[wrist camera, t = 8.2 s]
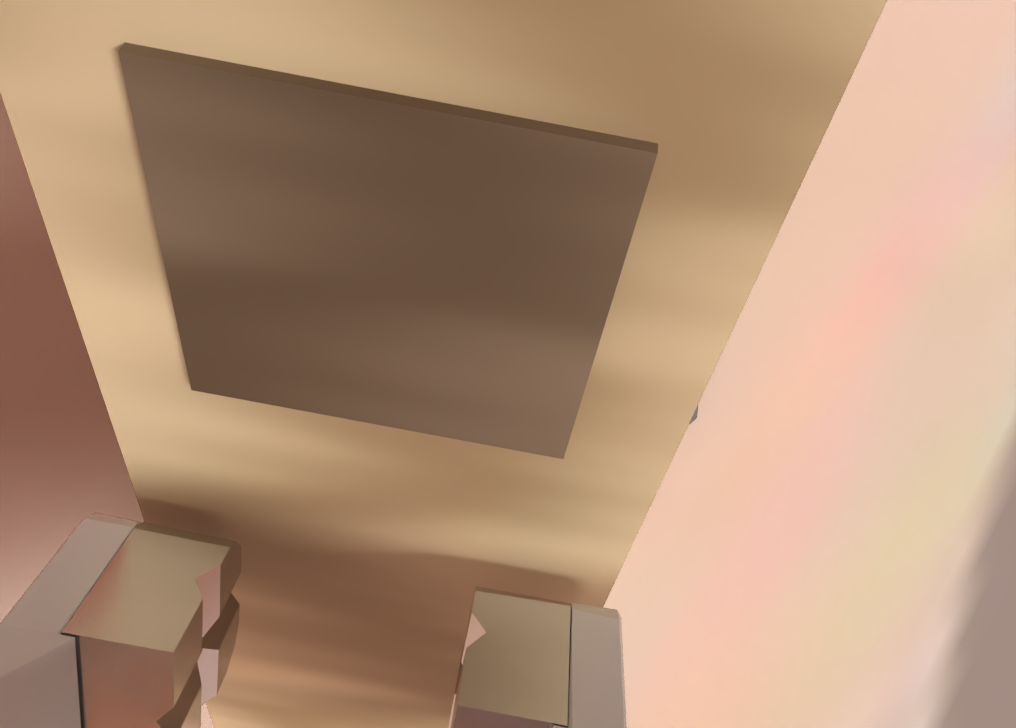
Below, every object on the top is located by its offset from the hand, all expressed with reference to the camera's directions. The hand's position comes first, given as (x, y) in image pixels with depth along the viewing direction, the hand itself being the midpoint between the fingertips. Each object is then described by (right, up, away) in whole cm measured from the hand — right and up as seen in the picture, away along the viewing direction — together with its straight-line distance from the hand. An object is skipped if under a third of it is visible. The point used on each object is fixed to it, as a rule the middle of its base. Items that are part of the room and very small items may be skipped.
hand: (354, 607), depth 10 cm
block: (0, -2, +7) cm, 7 cm away
